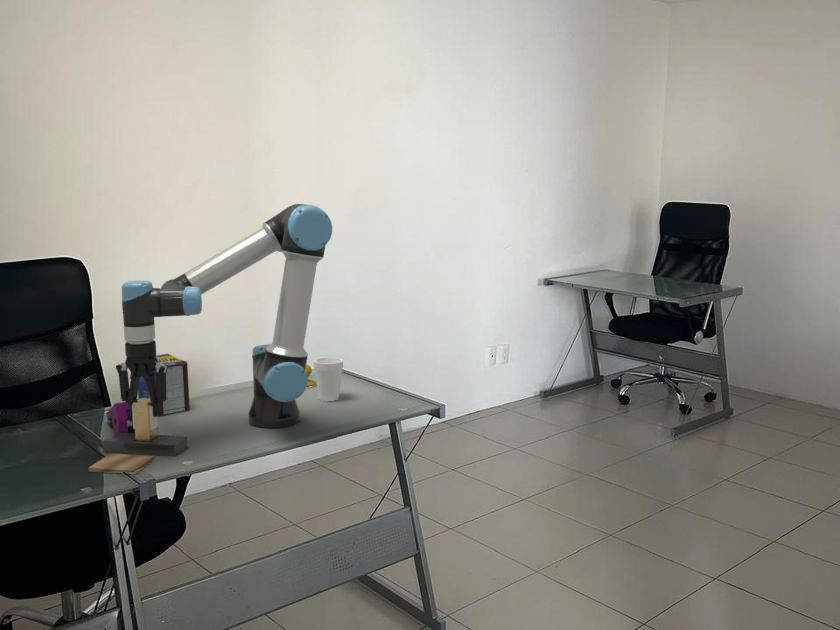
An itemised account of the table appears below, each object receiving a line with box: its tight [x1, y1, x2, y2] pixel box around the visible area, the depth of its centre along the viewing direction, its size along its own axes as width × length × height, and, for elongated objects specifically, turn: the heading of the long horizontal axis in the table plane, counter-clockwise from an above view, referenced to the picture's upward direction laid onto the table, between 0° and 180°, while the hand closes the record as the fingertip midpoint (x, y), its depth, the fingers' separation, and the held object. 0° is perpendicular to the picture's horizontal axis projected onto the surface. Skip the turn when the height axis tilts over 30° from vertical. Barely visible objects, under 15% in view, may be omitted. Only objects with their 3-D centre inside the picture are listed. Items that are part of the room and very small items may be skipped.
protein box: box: [137, 353, 191, 417], centre depth 240 cm, size 10×15×16 cm
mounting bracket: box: [106, 401, 133, 434], centre depth 222 cm, size 9×8×18 cm
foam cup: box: [313, 356, 344, 402], centre depth 252 cm, size 10×9×13 cm
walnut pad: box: [87, 453, 155, 473], centre depth 192 cm, size 12×10×1 cm
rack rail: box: [102, 432, 188, 457], centre depth 204 cm, size 20×7×3 cm, turn 81°
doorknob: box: [305, 364, 317, 387], centre depth 269 cm, size 8×8×8 cm
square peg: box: [133, 398, 158, 442], centre depth 203 cm, size 4×4×12 cm
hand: (145, 427), depth 203 cm, fingers closed on square peg, 4 cm apart
